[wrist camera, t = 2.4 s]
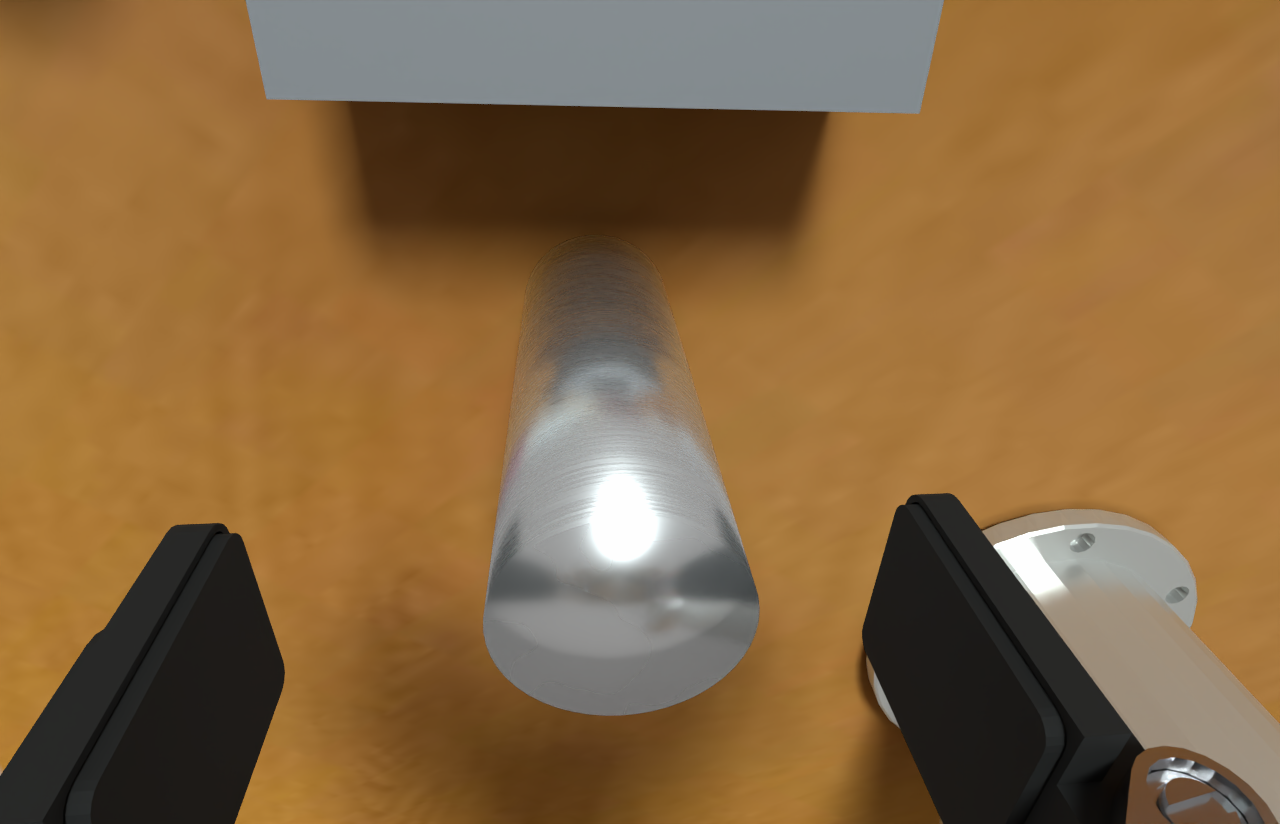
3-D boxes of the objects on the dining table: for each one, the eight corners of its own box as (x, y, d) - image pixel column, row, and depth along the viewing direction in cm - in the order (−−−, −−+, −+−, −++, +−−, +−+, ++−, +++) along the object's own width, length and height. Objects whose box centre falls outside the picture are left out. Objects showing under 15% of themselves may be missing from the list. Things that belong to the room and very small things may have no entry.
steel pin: (662, 365, 22) (744, 709, 12) (528, 367, 22) (493, 722, 12) (669, 235, 20) (775, 514, 10) (521, 234, 20) (471, 523, 9)
